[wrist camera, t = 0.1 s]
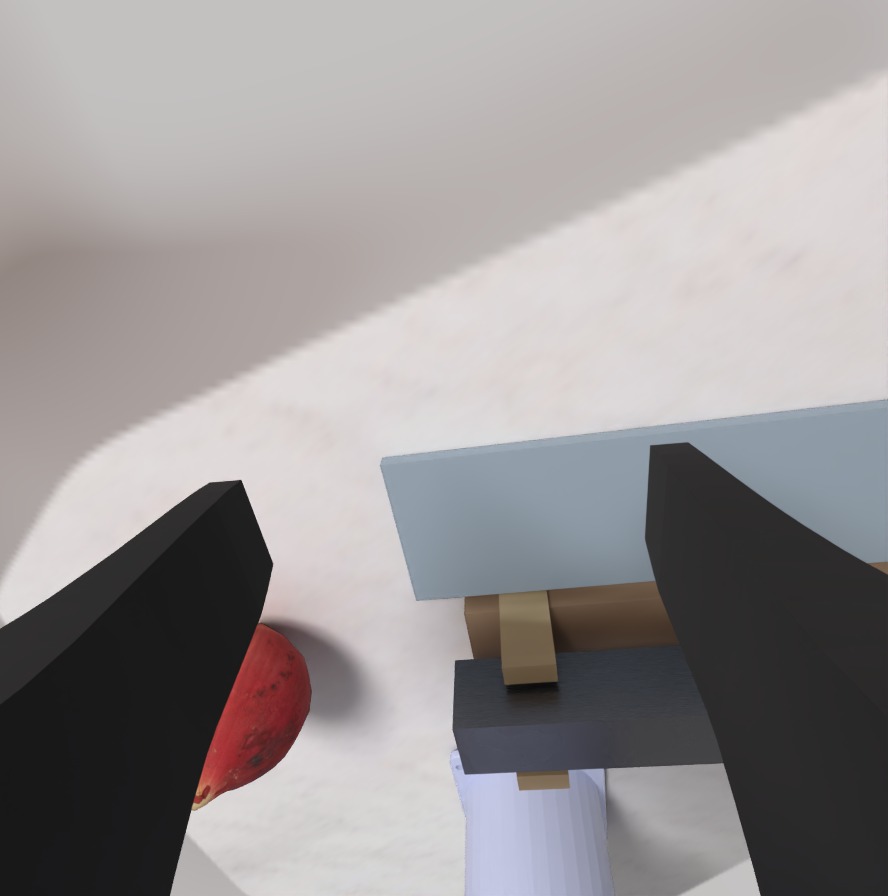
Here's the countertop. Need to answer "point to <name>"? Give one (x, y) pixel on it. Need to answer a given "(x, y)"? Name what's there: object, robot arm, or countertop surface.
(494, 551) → the mat
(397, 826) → the countertop surface
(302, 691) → the onion
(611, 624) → the rack
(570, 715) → the rail
